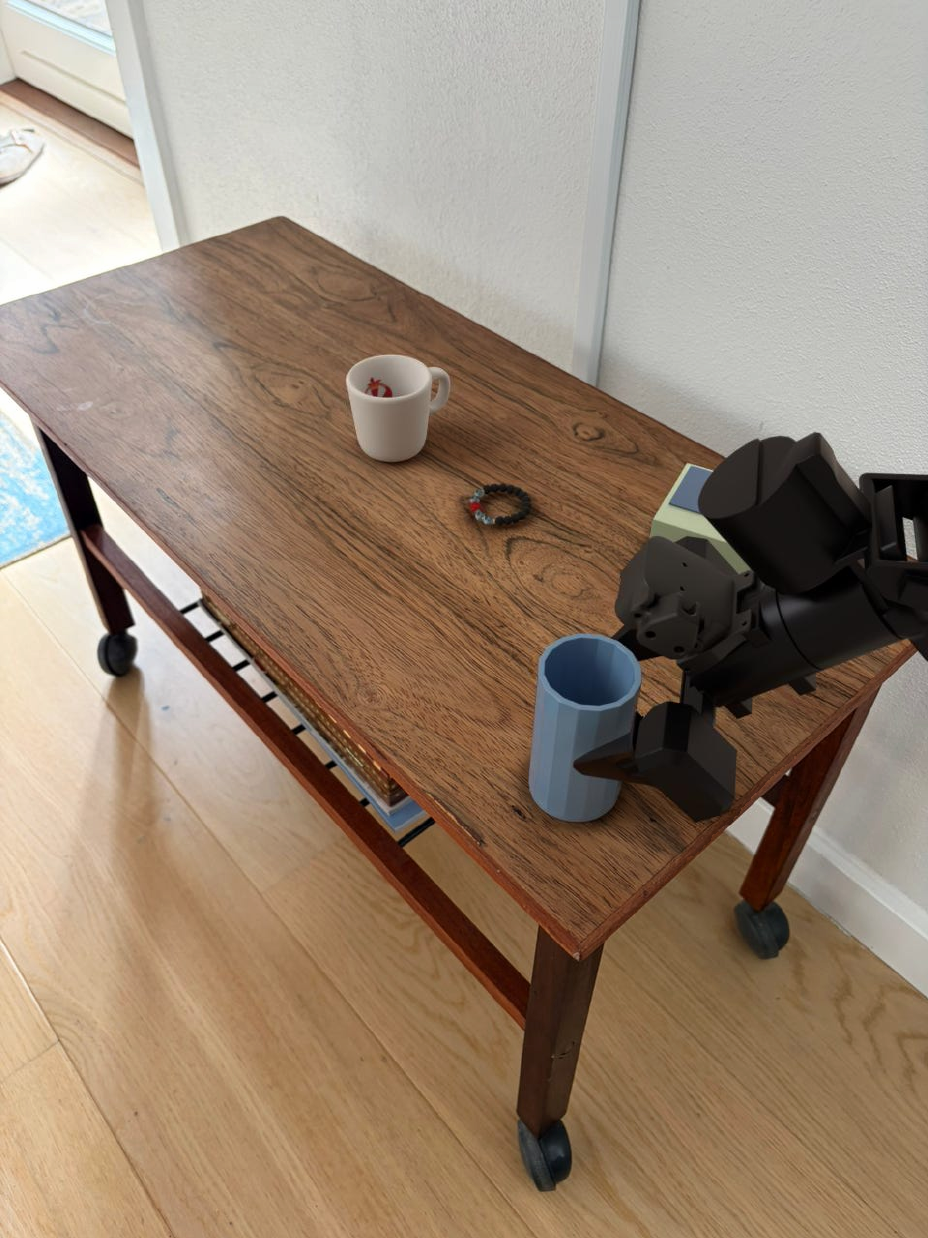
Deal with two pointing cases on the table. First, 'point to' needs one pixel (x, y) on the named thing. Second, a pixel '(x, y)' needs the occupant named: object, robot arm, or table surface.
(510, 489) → the bracelet
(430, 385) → the cup
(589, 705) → the blue hollow cylinder
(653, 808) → the table surface
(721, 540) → the box
